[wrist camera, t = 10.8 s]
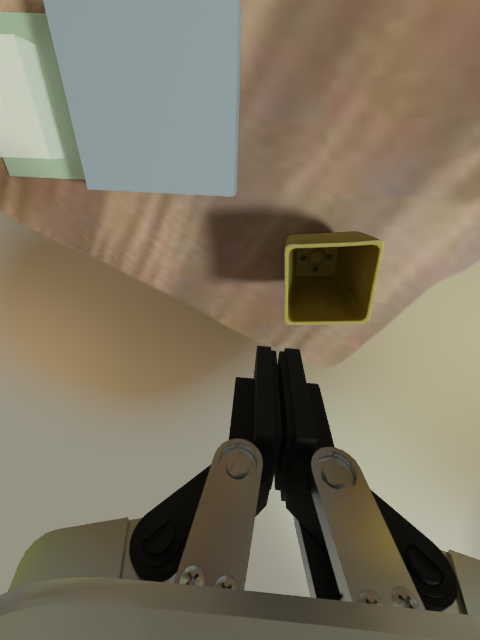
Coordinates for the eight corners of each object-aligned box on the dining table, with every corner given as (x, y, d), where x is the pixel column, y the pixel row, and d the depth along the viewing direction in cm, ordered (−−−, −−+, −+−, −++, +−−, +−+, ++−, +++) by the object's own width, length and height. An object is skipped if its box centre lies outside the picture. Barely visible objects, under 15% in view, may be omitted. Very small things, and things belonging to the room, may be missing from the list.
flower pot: (279, 289, 37) (283, 326, 29) (279, 222, 32) (284, 245, 25) (346, 287, 36) (369, 324, 28) (356, 218, 31) (386, 239, 24)
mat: (-47, 12, 24) (-51, 10, 24) (72, 15, 24) (69, 13, 24) (12, 175, 31) (9, 175, 31) (105, 180, 31) (103, 180, 31)
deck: (70, 7, 24) (39, -17, 20) (241, 11, 23) (238, -12, 20) (106, 185, 31) (87, 189, 28) (236, 191, 31) (233, 196, 27)
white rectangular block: (13, 34, 23) (34, 44, 25) (-55, 32, 23) (-28, 42, 25) (50, 158, 28) (65, 158, 30) (-7, 156, 28) (12, 156, 30)
